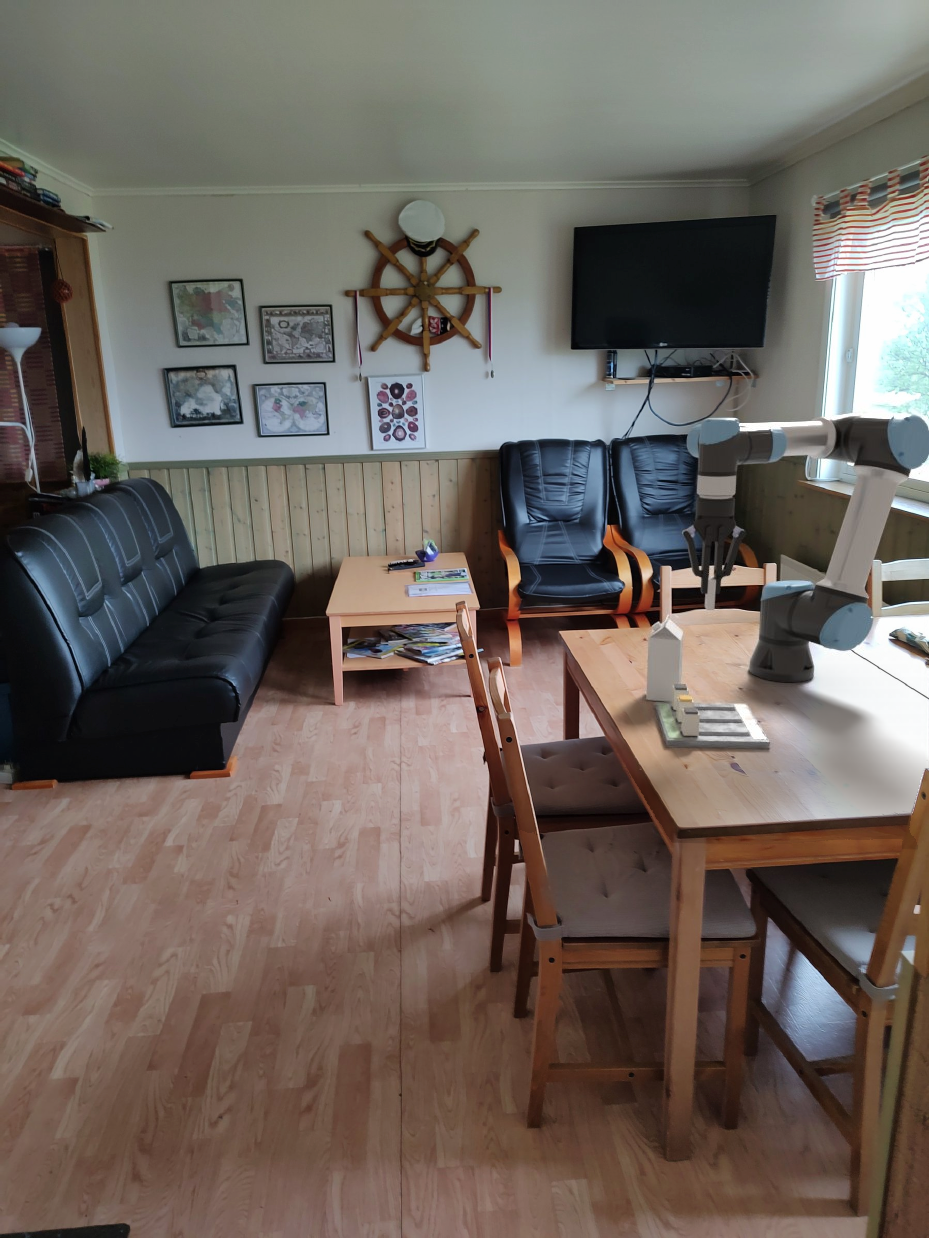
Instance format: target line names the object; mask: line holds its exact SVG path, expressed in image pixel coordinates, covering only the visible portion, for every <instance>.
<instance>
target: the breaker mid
mask: <svg viewBox="0 0 929 1238" xmlns="http://www.w3.org/2000/svg"><path fill="white" fill-rule="evenodd" d="M694 703H695V701H694V699H693V697H692V695H679V697H677V709H676V718H677V720H678V722H682V709H684V707H689V708H694Z"/></svg>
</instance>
